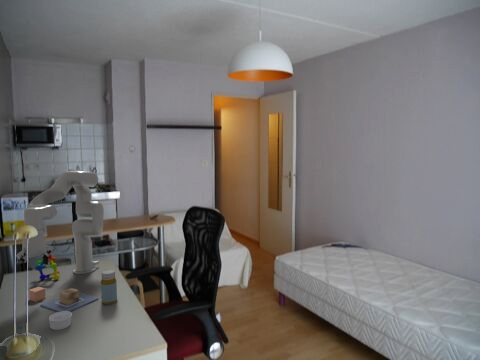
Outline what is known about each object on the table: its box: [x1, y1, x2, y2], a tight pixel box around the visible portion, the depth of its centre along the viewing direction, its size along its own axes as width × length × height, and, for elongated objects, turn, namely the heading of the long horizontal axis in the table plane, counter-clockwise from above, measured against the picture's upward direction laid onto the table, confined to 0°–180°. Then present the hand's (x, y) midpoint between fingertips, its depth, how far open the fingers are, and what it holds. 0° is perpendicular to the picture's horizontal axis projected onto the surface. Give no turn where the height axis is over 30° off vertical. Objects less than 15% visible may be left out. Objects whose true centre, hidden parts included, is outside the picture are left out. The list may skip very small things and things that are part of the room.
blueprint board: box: [40, 292, 99, 313], centre depth 173 cm, size 18×18×1 cm
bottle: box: [100, 269, 118, 305], centre depth 173 cm, size 7×7×15 cm
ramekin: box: [48, 311, 73, 331], centre depth 150 cm, size 9×9×4 cm
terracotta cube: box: [28, 286, 46, 303], centre depth 177 cm, size 5×5×5 cm
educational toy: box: [35, 253, 60, 281], centre depth 203 cm, size 16×13×15 cm
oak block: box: [59, 287, 80, 305], centre depth 173 cm, size 6×6×5 cm
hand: (36, 267), depth 176 cm, fingers open, 9 cm apart
